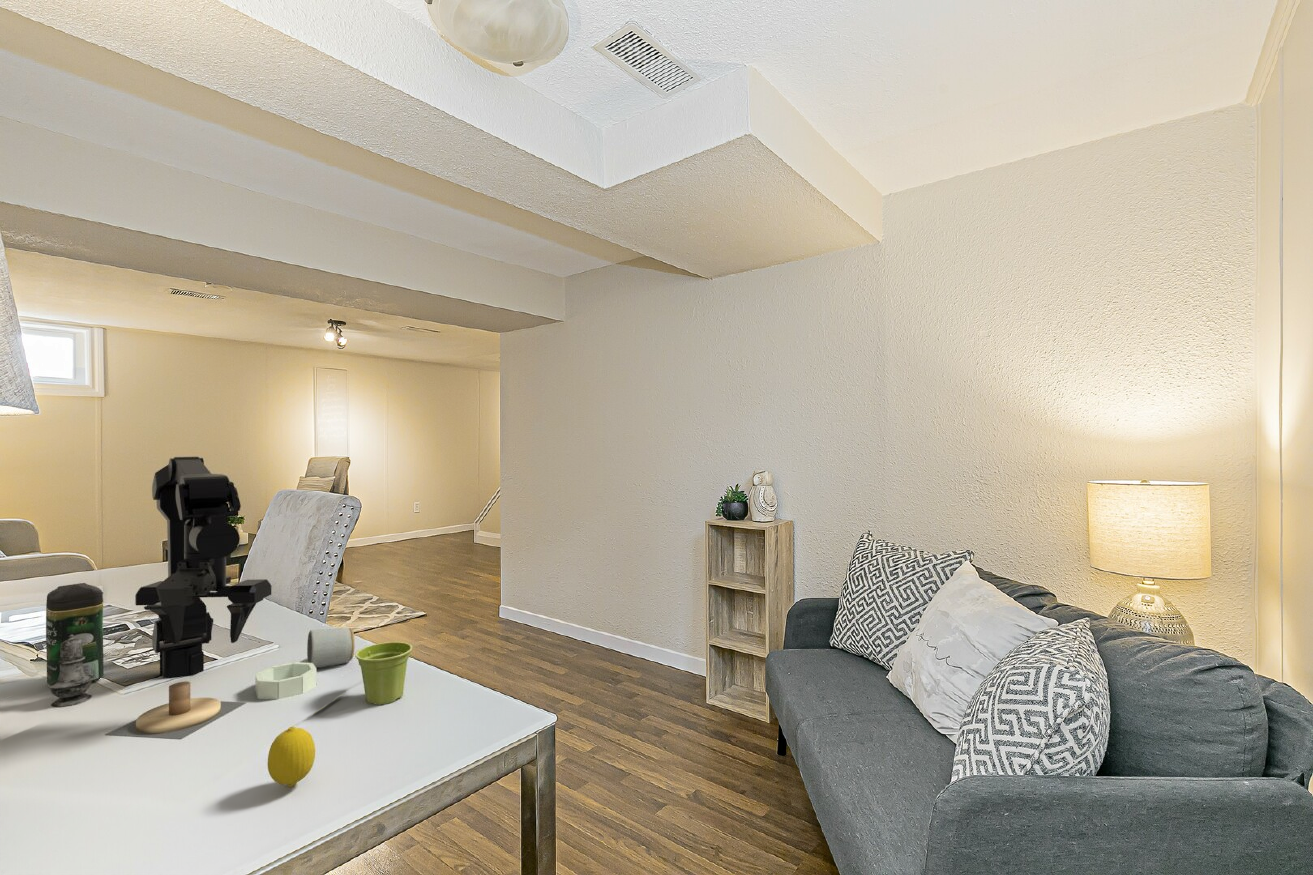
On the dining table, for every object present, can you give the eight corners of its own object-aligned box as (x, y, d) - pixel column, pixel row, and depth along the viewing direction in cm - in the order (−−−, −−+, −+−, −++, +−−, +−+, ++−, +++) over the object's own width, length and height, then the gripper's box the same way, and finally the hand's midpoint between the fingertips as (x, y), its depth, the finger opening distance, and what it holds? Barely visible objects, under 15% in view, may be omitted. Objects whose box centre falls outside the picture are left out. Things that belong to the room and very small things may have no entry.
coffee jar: (42, 681, 119) (42, 585, 119) (97, 669, 125) (97, 578, 125) (50, 694, 113) (50, 593, 113) (107, 681, 119) (107, 585, 119)
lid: (116, 731, 96) (116, 697, 96) (178, 701, 107) (178, 670, 107) (181, 735, 95) (180, 700, 95) (236, 704, 106) (236, 673, 106)
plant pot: (356, 713, 105) (356, 662, 105) (354, 693, 113) (354, 646, 113) (415, 702, 109) (414, 653, 109) (409, 684, 117) (409, 638, 117)
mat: (104, 740, 95) (104, 734, 95) (178, 704, 108) (178, 699, 108) (181, 745, 94) (181, 738, 94) (246, 708, 107) (246, 702, 107)
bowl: (243, 702, 109) (243, 680, 109) (281, 682, 118) (280, 661, 118) (292, 705, 108) (292, 682, 108) (325, 684, 117) (325, 663, 117)
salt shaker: (101, 696, 112) (101, 630, 112) (61, 710, 106) (61, 640, 106) (80, 692, 114) (80, 627, 114) (40, 705, 108) (40, 637, 108)
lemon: (281, 776, 86) (280, 718, 86) (322, 774, 86) (322, 716, 86) (258, 799, 80) (258, 737, 80) (303, 797, 80) (303, 736, 80)
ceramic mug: (356, 665, 127) (356, 628, 127) (311, 674, 122) (311, 635, 122) (346, 652, 136) (346, 617, 136) (303, 660, 131) (303, 623, 131)
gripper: (107, 560, 95) (107, 661, 95) (234, 558, 97) (234, 658, 97) (160, 547, 106) (160, 638, 106) (273, 546, 108) (273, 635, 108)
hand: (205, 642), depth 104 cm, fingers open, 9 cm apart
